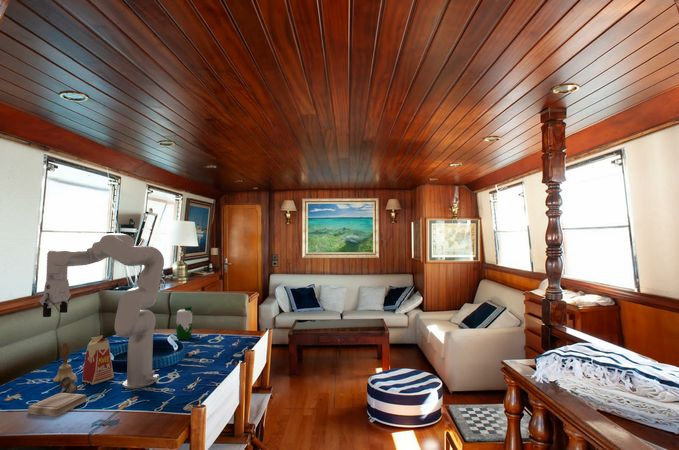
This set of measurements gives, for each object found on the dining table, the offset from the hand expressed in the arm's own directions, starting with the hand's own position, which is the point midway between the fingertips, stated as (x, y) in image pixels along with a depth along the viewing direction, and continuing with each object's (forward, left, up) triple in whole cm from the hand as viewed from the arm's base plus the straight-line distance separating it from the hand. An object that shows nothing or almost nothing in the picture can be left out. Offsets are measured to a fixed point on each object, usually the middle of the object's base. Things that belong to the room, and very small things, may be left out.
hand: (55, 314), depth 161 cm
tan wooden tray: (-28, +23, -29) cm, 47 cm away
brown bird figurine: (-19, +11, -29) cm, 36 cm away
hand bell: (-4, -2, -29) cm, 29 cm away
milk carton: (-20, -3, -29) cm, 36 cm away
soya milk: (-18, -72, -29) cm, 79 cm away
